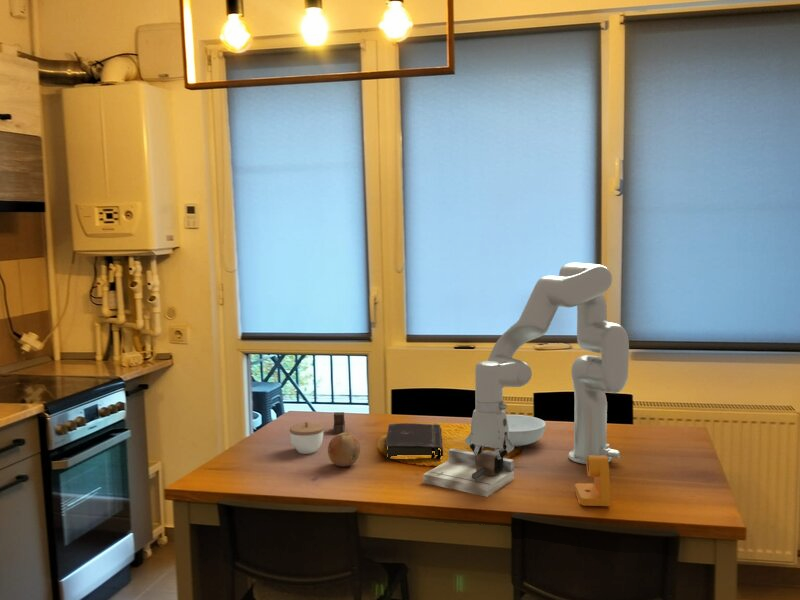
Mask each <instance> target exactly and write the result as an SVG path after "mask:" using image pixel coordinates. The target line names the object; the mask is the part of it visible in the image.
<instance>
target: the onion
mask: <svg viewBox="0 0 800 600" xmlns="http://www.w3.org/2000/svg"><path fill="white" fill-rule="evenodd" d="M360 454H361V445H360V442H359V440H358V439H357V438H356V437H355V436H354V435H353V434H351V433H350V432H348V431H347V432H345V431H344V433H340V434H335V436H333V437H332V438H331V440H330V441H329V443H328V446H327V455H328V458H329V460H330V461H331V463H333V464H334V465H335V466H337V467H340V468H344V467H349V466H352V465H353V464H355V463H356V462H357V460H358V459H359V457H360Z"/></svg>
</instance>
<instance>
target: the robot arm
mask: <svg viewBox="0 0 800 600" xmlns="http://www.w3.org/2000/svg"><path fill="white" fill-rule="evenodd" d="M558 275H559V276H558ZM558 275H545V276H542V277H541V278H539V279H538V280H537V282H536V283H535V285H534V287H533V289H532V291H531V294H530V295H529V296H528V297H529V298H528V300H527V302H526V304H525V306H524V309H523V310H522V312H521V315H520V317H519V319H518V320H517V321H516V322H515V323H514V324H512V325H511V326H510V327H509V328H508V329H507V330H506V331H505V332H504V333H503V334H501V336H500V337H499V338H498V339H497V341H495V344H494V346H493V348H492V350H491V352H490V354H489V356H488V359H487V360H483V361H479V362H477V364H476V365H475V367H474V368H475V369H474V371H475V372H474V373H475V374H474V375H475V377H474V378H475V379H474V383H475V386H474V387H475V392H474V394H475V395H474V396H475V401H474V402H475V409H474V410H473V411H472V417H471V423H470V434H469V435H468V436H467V437H466V438H465V439H464V442H465V443H466V445H468V446H469V448H470V449H471V452H474V455H478V454H480V453H481V452H483V449H484V448H490V449H494V451H495V453H496V457H497V459H495V473H499V472H500V471H502V469H503V458H505V456H506V455H508V454H509V453H510V452H512V451H513V450H515V446H513V445H512V443H511V442H510V440H509V428H508V420H507V415H508V414H507V412H506V411H505V410H507V409H508V405H507V404H505V403H504V400H503V399H504V398H503V397H504V388H520V387H523V386H526V385H527V384H528V383H530V380H531V379H532V375H533V372H532V369H531V366H530V365H529V364H528V363H527V362H525V361H524V360H520V359H517V358H513V357H514V355H515V354H516V352H517V351H518V350H519V348H521V347H522V346H523V345H525V344H526V343H528V342H530V341H532V340H535V339H538V338H540V337H542V336H545V335H546V334H547V332H548V330H549V328H550V325H551V323H552V322H553V319H554V317H555V315H556V313H557V311H558V308H559V307H560V308H568V309H569V308H574V307H576V311H577V312H576V313H577V315H576V318H577V321H576V342H577V344H578V347H579V348H581V349H582V350H584V351H588V352H591V353H597V354H601V356H597V355H592V354H585V355H583V354H582V355H580V356H578V357H577V358H575V360H574V361H573V363H572V364H571V370H570V371H571V373H570V374H571V381H572V386H573V391H574V393H573V394H574V395H573V396H574V397H573V398H574V406H573V407H574V408H573V410H574V415H573V416H574V417H573V418H574V420H573V421H574V422H573V425H574V428H573V450H571V451H569V453H568V458H569V459H570V461H573V462H575V463H579V464H582V465H587V464H586V463H587V456H588V455H606V456H607V457H608V462H609V463H610V462H611V461H612V458H614V459H616V460H617V459H620V458H621V452H620V451H619V450H617V449H612V448H611V447H610V443H607V427H608V425H607V424H608V423H607V421H608V413H607V412H608V401H607V395H606V393H608V394H609V393H610V394H617V393H620V392H621V391H622V390H624V388H625V387H626V384H627V382H628V378H629V359H630V358H629V355H630V354H629V353H630V341H629V336H628V333H627V331H626V329H625V328H624V327H623V326H622V325H620V324H619V323H615V322H610V321H608V313H607V301H606V297H605V293H606V292H607V291H608V290H609V289H610V287H611V285H612V282H613V275H612V272H611V271H610V269H609V268H608V267H607V266H604V265H602V264H597V263H584V262H569V263H566V264H564V265H563V266H561V267H560V269H559V273H558ZM605 392H606V393H605ZM505 445H506V448H505V449H504V446H505Z"/></svg>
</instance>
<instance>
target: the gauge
mask: <svg viewBox="0 0 800 600" xmlns="http://www.w3.org/2000/svg"><path fill="white" fill-rule="evenodd" d="M495 459H497V457H496V453H495V450H488V449H485V450H484V451H483V450H482V452H481V453H480V454H478V455H476V472H475V473H473V474H472V479H474V480H476V479H477V478H479V477H481V476H482V475H488V476H494V475H495V474H497V473H495Z"/></svg>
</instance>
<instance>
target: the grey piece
mask: <svg viewBox="0 0 800 600" xmlns="http://www.w3.org/2000/svg"><path fill="white" fill-rule="evenodd" d="M475 472H476V455H474V452H473V451H467V450H462V449H457V448H450V449H449V450H448V460H447V461H444V462H443V463H441V464H439V465H437V466H436V467H434V468H432V469H429V470H428V471H426V472H425V473H423V474H422V476H423V478H422V479H423V480H422V482H423V484H427V485H432V486H435V487H441V488H444V489H450V490H453V491H454V490H455V491H459V492H464V493H467V494H472V495H477V496H482V497H486V498H488V497H489V495H490V496H491V495H493V494H495V492H497V491H498V490H500V489H502V488H503V487H504V486H506V485H507V484H509V483H510V482H512V481H513V480H515V460H514V459H511V458H506V457H503V469H502V471H500V472H499V473H497V474H495V475H494V476H488V475H482V476H481V477H479V478H477V479H476V480H474V479H472V474H473V473H475Z"/></svg>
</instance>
